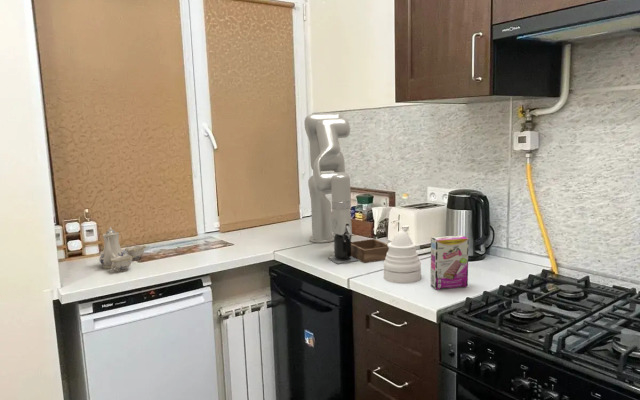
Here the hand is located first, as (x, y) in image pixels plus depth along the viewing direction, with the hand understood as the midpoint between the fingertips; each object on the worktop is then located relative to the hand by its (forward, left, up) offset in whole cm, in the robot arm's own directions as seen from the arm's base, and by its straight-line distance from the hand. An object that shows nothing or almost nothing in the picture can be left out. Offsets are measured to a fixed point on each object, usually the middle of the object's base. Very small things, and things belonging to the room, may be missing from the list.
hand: (342, 249), depth 195 cm
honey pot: (+31, +8, -5) cm, 33 cm away
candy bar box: (+47, +16, -5) cm, 50 cm away
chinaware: (-40, -83, -5) cm, 92 cm away
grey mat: (0, 0, -5) cm, 5 cm away
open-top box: (0, +12, -5) cm, 13 cm away
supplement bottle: (0, 0, -4) cm, 4 cm away
